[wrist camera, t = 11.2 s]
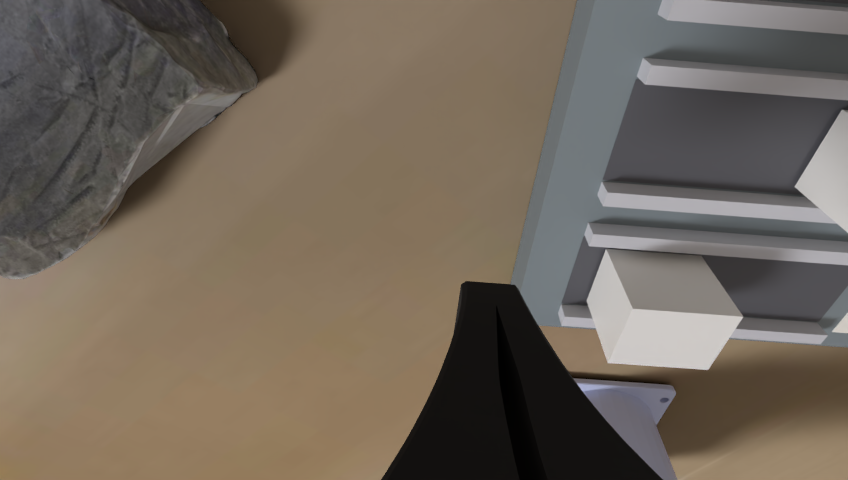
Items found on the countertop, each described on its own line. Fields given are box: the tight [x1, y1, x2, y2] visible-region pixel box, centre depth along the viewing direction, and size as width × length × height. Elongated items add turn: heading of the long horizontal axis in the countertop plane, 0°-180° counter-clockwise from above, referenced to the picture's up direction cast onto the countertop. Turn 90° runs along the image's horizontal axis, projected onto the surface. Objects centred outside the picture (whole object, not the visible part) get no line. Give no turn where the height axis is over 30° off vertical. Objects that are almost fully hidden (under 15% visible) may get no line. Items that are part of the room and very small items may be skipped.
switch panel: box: [511, 0, 848, 347], centre depth 18 cm, size 20×18×3 cm
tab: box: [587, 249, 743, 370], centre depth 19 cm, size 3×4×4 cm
